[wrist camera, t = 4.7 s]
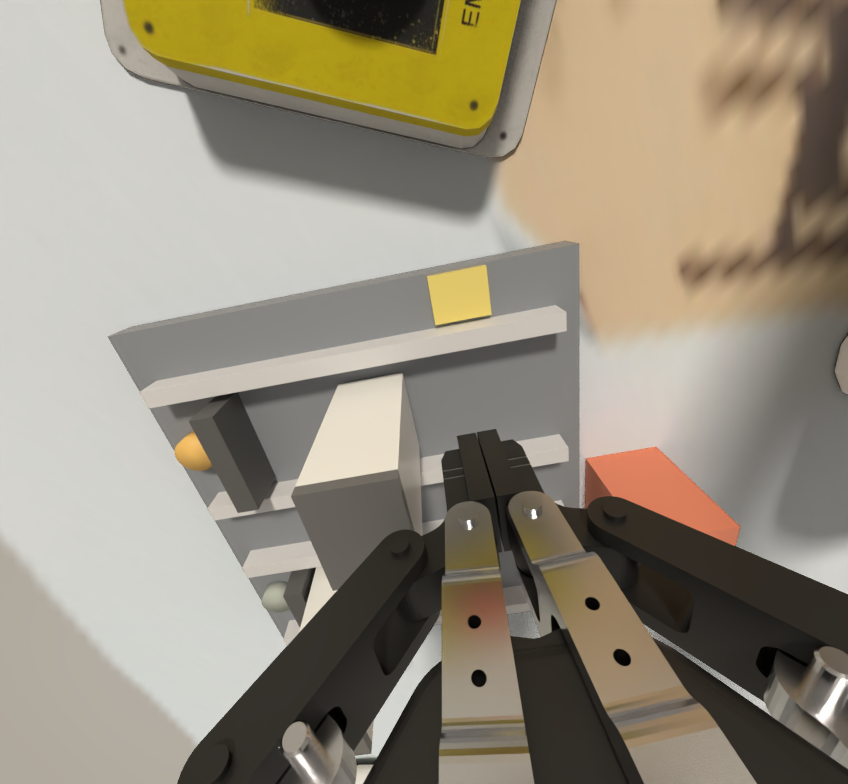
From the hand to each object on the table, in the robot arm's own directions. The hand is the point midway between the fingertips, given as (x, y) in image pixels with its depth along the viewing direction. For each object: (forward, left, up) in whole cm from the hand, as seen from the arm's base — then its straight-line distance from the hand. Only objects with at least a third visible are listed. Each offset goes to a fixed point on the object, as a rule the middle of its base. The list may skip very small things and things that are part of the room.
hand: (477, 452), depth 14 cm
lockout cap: (-9, +8, -6) cm, 13 cm away
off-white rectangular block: (+4, 0, -4) cm, 6 cm away
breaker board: (+4, +5, -6) cm, 9 cm away
